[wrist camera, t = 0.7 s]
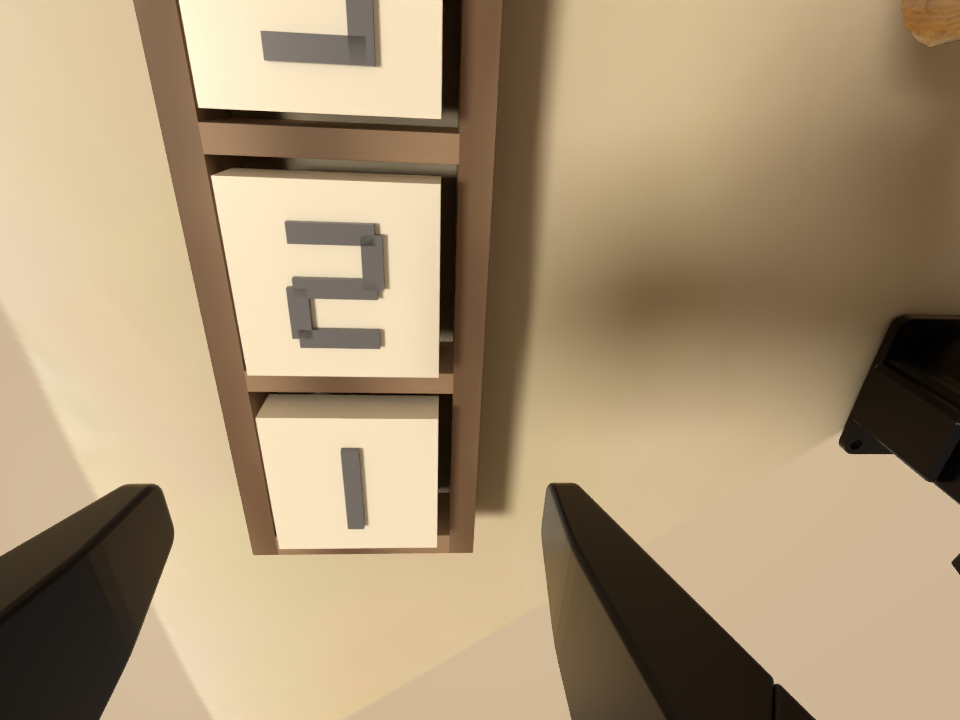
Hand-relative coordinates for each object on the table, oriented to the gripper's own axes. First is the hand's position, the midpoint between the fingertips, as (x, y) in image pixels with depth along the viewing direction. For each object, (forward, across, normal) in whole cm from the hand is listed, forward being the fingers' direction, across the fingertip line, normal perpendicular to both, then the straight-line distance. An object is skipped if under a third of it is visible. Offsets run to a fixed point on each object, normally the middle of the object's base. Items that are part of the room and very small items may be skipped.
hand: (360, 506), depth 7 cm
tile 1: (+11, +2, +8) cm, 13 cm away
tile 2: (+11, +2, 0) cm, 11 cm away
